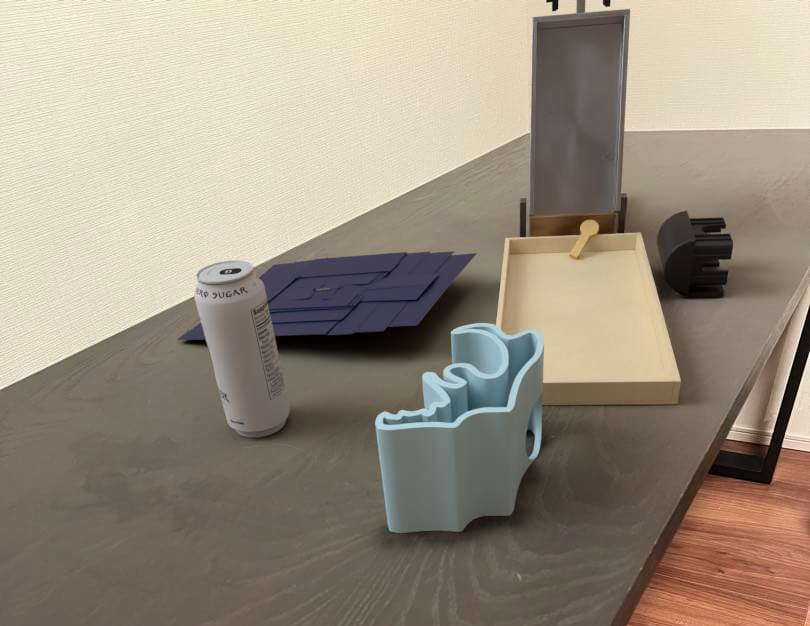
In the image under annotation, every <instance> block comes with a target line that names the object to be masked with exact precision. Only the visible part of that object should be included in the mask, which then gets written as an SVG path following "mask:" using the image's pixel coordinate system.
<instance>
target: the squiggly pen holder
mask: <svg viewBox="0 0 810 626" xmlns="http://www.w3.org/2000/svg"><path fill="white" fill-rule="evenodd" d="M450 341H451V345H450V346H451V362H452V364H449V365H447V366H446V367H445V368H444V369H443V370H442V379H441V378H440V377H439V375H438V374H437V373H436V372H433V371H426V372H423V374H422V377H421V380H422V393H423V394H422V395H423V406H424V408H421V409H417V410H412V411H411V410H406V409H401V410H399V411H398V412H397V413H396V414H393V413H392V412H391V413H390V412H388V411H382V412H380V413H379V414H378V415H376V418H375V421H374V424H375V433H376V441H377V449H378V457H379V465H380V473H381V474H380V475H381V480H382V489H383V498H384V504H385V513H386V519H387V520H386V521H387V527H388V530H389V532H391V533H397V534H407V533H418V532H434V531H435V532H436V531H437V532H440V531H441V532H452V533H454V532H455V533H460V532H463V531H464V529H466V527H467V526H468V524H469V523H471V522H472V521H473V520H476V519H478V518H481V517H509V516H511V515H512V514H513V512H514V511H515V506H516V499H517V495H518V491H519V487H520V484H521V481H522V478H523V476H524V475H525V473H526V472H527V470H528V469H529V467H530V466H531V465H532V463H534V461H535V460H536V459H537V457H538V455H539V453H540V450H541V444H542V434H543V433H542V432H543V430H542V429H543V427H542V426H543V422H542V421H543V420H542V419H543V417H542V415H543V405H542V398H543V366H544V338H543V336H542V334H541V333H540V332H539V331H537V330H534V329H527V330H525V331H522V332H520V333H518V334H515V335H511V336H510V335H507V334H505V333H504V332H503V331H502V330H501V329H500V328H499V327H498V326H496V324H494V323H488V322H477V323H470V324H465V325H461V326H458V327H456V328H454V329H453V330H451V332H450ZM528 430H529V431H530V432H532V433H533V435H534V444H533V449H532V452H531V454H530V456H528V454H527V446H526V442H527V432H528Z"/></svg>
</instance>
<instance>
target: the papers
mask: <svg viewBox="0 0 810 626" xmlns="http://www.w3.org/2000/svg"><path fill="white" fill-rule="evenodd" d="M454 253H455V250H454V251H439V252H437V251H435V252H431V251H420V252H408V251H401V252H389V253H376V254H363V255H351V256H337V257H325V258H314V259H309V260H301V261H294V262H288V263H278V264H273V265H272V266H271V267H270V268H268V269H267V270H266V271H265V272H264V273H262V274H261V275H260V276H258V277H259V278H260V279H261V281H262V282H263V283H264V287H265V292H266V297H267V302H268V306H269V311H270V316H271V321H272V326H273V331H274V336H275V337H280V336H281V337H283V336H309V335H311V336H312V335H319V336H338V335H353V334H355V333H374V332H385V330H386V329H387V328H391V327H392V328H393V327H410V326H411V327H412V326H418V325H419V324H420V323H421V321H422V320H423V319H424V318H425V316H426V315H428V312H429V311H430V310H431V309H432V307H434V305H435V304H436V303H437V302H438V300H439V299H440V298H441V296H442V295H443V294H444V293H445V291H447V289H448V288H449V286H451V284H452V283H453V282H454V281H455V280H456V278H457V277H459V275H460V274H461V273H462V271H464V269H466V267H467V266H468V264H469V263H470V262H471V261H472V260H473V259H474V258H475V256H477V254H478V253H477V252H475V253H463V254H462V253H461V254H454ZM195 340H197V341H202V340H206V339H205V335H204V332H203V328H202V324H201V322H199V323H197V324H196V325H195V326H194V327H192V328H190V330H188V331H187V332H185V333H184V334H183V335H182V336H180V337H179V338H178V339H177V341H195Z"/></svg>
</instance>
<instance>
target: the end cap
mask: <svg viewBox="0 0 810 626" xmlns="http://www.w3.org/2000/svg"><path fill="white" fill-rule="evenodd" d="M726 228H727V223H726V220H725V218H724V217H723V216H722V217H721V216H720V217H694V218H693V217H692V218H691V217H690V216H689V213H688V211H687V210H683V211H679V212H676V213H674V214H672V215H671V216H669V217H668V218H667V219H665V220H664V221H663V223H662V224H661V226H660V228H659V229H658V232H657V235H656V247H657V251H658V257H659V261H660V267H661V271H662V276H663V277H662V278H663V279H664V282H665V283H666V284H667V286H668V288H670V289H671V290H673V291H674V292H675V293H676V294H677V295H679V296H680V297H682V298H687V299H709V298H710V299H713V298H715V299H717V298H722V297H724V296H725V288H724V286H726V285H727V284H728V279H729V272H730V271H729V269H718V268H720V265H721V263H720V262H721V261H725V260H727V261H728V260H729V261H730V260H732V257H733V256H732V255H733V251H734V250H733V249H734V240H733V238H732V235H731V233H728V232H727V233H721V232H722V230H725V229H726Z"/></svg>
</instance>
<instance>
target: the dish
mask: <svg viewBox="0 0 810 626" xmlns="http://www.w3.org/2000/svg"><path fill="white" fill-rule="evenodd" d="M630 23H631V8H623V9H612V10H611V9H610V10H599V11H587V12H586V0H576V1H575V13H563V14H552V15H539V16H532V17H531V57H530V58H531V62H530V63H531V65H530V66H531V67H530V75H531V76H530V113H529V114H530V115H529V116H530V120H529V121H530V123H529V173H528V175H529V176H528V177H529V181H528V182H529V183H528V217H529V218H530V217H533V216H534V217H536V216H559V215H582V214H604V213H616V214H618V212H619V211H620V207H621V193H622V187H623V186H622V185H623V167H624V166H623V164H624V163H623V162H624V148H625V147H624V145H625V126H626V125H625V124H626V104H627V85H628V84H627V83H628V67H629V66H628V63H629V46H630V45H629V43H630Z"/></svg>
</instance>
